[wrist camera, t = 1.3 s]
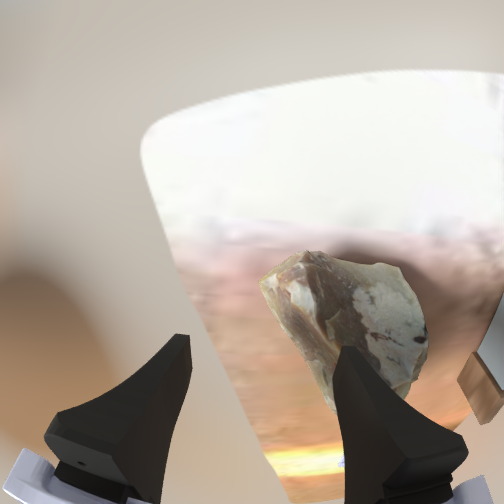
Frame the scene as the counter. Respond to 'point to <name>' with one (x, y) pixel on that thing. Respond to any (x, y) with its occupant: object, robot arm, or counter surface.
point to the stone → (349, 317)
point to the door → (495, 346)
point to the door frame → (481, 389)
